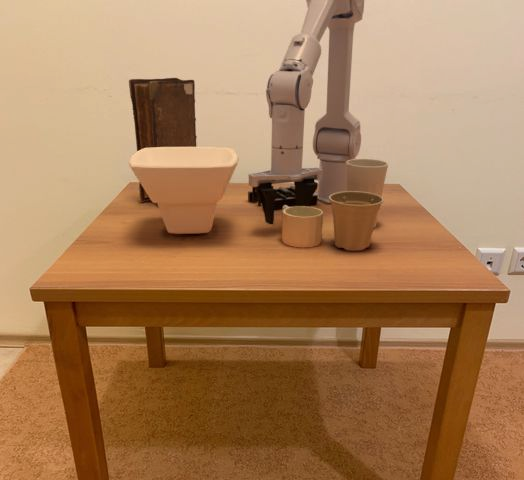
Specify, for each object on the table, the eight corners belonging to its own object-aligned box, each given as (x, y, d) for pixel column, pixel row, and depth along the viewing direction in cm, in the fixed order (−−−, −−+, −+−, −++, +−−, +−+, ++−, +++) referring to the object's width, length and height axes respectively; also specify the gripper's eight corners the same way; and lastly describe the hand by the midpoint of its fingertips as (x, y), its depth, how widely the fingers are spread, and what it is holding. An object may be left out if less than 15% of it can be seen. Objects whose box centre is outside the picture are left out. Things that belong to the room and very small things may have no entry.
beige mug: (328, 244, 93) (330, 214, 91) (293, 249, 91) (295, 219, 88) (299, 227, 102) (300, 199, 99) (266, 232, 99) (267, 203, 96)
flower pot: (345, 257, 87) (350, 207, 83) (315, 241, 94) (318, 194, 90) (388, 249, 91) (395, 200, 87) (356, 234, 98) (361, 188, 94)
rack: (296, 195, 124) (297, 174, 121) (317, 205, 116) (318, 182, 114) (247, 201, 119) (247, 178, 116) (265, 211, 111) (266, 188, 109)
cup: (387, 224, 104) (396, 162, 98) (366, 233, 99) (373, 168, 93) (355, 216, 109) (361, 157, 103) (332, 224, 104) (337, 162, 98)
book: (187, 188, 128) (180, 76, 116) (209, 192, 125) (204, 77, 112) (137, 202, 117) (123, 79, 104) (159, 207, 113) (148, 80, 100)
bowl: (241, 246, 92) (240, 165, 85) (132, 248, 91) (121, 166, 83) (238, 216, 108) (237, 146, 101) (145, 217, 107) (137, 146, 99)
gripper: (260, 152, 86) (259, 231, 93) (333, 147, 92) (327, 221, 99) (243, 146, 92) (244, 221, 99) (313, 141, 97) (309, 212, 104)
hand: (284, 220), depth 99 cm, fingers open, 6 cm apart
